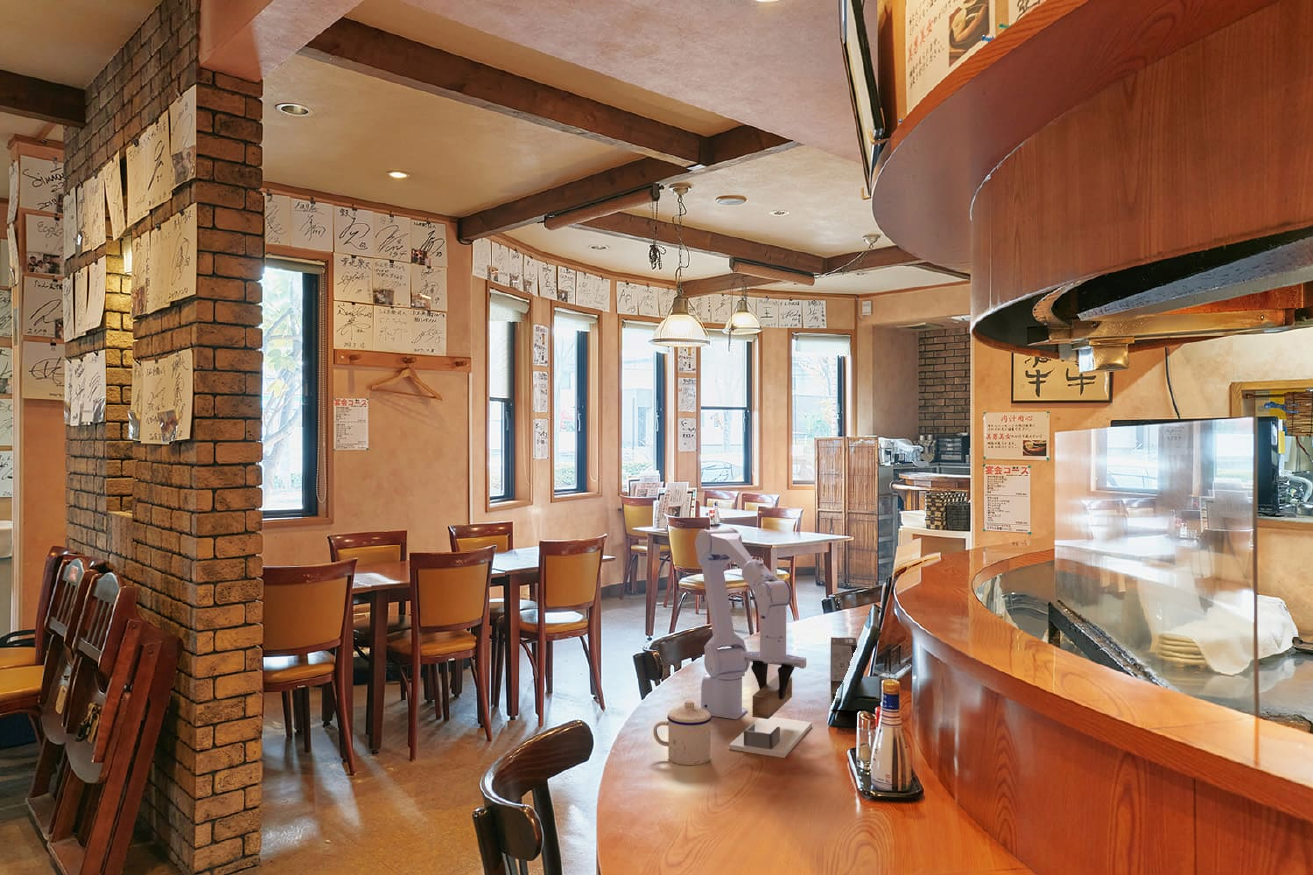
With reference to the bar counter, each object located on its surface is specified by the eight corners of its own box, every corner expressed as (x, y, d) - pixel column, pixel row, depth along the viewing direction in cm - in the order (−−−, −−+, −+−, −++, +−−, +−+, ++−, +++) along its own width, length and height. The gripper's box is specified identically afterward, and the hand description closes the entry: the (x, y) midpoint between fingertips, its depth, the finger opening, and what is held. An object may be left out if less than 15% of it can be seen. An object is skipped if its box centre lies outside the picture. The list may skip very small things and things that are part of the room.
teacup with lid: (713, 751, 185) (713, 696, 185) (709, 767, 176) (709, 709, 176) (656, 748, 187) (656, 693, 187) (650, 764, 178) (650, 706, 178)
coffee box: (857, 712, 212) (857, 645, 213) (830, 710, 214) (830, 644, 214) (856, 701, 221) (856, 637, 221) (830, 699, 223) (830, 635, 223)
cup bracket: (729, 749, 187) (729, 730, 187) (761, 719, 207) (761, 702, 207) (784, 757, 182) (784, 738, 182) (811, 726, 202) (811, 709, 202)
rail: (752, 716, 187) (752, 695, 187) (777, 694, 203) (777, 675, 203) (768, 719, 185) (768, 697, 185) (791, 696, 202) (792, 677, 202)
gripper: (735, 635, 194) (735, 697, 194) (800, 642, 188) (800, 706, 188) (746, 629, 200) (745, 689, 200) (809, 635, 194) (808, 697, 194)
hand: (772, 697), depth 194 cm, fingers closed on rail, 3 cm apart
